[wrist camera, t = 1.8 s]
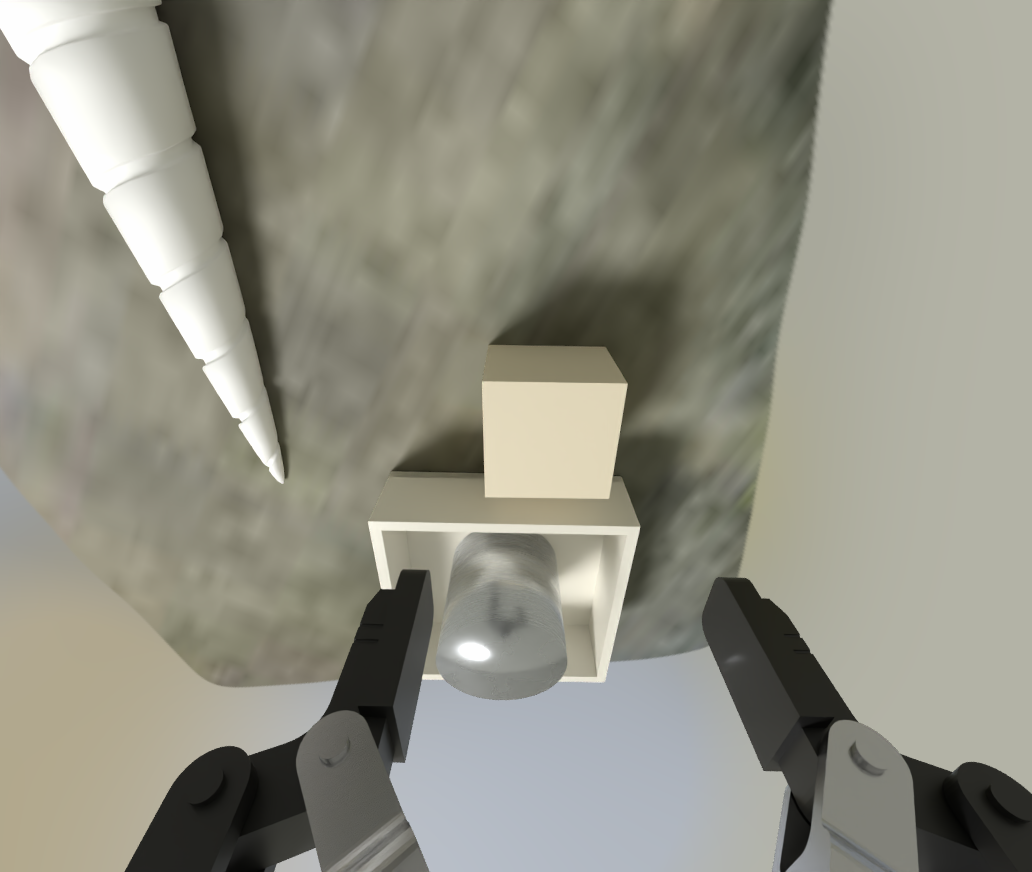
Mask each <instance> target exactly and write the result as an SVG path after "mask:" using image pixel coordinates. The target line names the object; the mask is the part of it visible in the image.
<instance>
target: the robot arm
mask: <svg viewBox="0 0 1032 872" xmlns="http://www.w3.org/2000/svg"><path fill="white" fill-rule="evenodd" d="M433 616H434V604H433V594H432V585H431V575H430V571H429V570H416V569H403V570H402V571H401V572H400V575H399V578H398V581H397V584H396V587H395V589H380V591H379V592H378V593H377V594H376V595H375V596H374V598H373V599H372V600H371V601H370V602H369V603H368V604H367V607H366V609H365V612H364V615H363V617H362V620H361V622H360V627H359V628H358V630H357V633H356V636H355V638H354V643H353V644H352V646H351V649H350V652H349V654H348V657H347V660H346V662H345V665H344V667H343V670H342V673H341V675H340V678H339V681H338V683H337V686H336V689H335V691H334V694H333V697H332V699H331V702H330V704H329V706H328V708H327V710H326V712H325V713H324V715H323V716H322V718H321V719H320V720H319V721H318V722H317V723H316V724H315V725H313V726H312V728H311V729H310V730H309V731H308V732H306V733H305V734H304V735H302V736H300V737H299V738H297V739H295V740H293V741H290V742H288V743H286V744H283V745H279V746H276V747H274V748H270V749H267V750H264V751H261V752H258V753H255V754H252V755H249V756H248V755H247V754H246V752H244V750H242V749H240V748H238V747H234V746H225V747H220V748H217V749H214V750H212V751H209V752H207V753H206V754H204V755H202V756H200V757H199V758H198V759H196V760H195V761H194V762H192V763H191V764H190V765H189V766H188V767H187V768H186V769H185V770H184V771H183V772H182V773H181V774H180V775H179V777H178V778H177V779H176V781H175V782H174V783H173V785H172V786H171V788H170V790H169V791H168V793H167V795H166V797H165V799H164V800H163V802H162V804H161V806H160V808H159V810H158V812H157V813H156V815H155V817H154V819H153V821H152V822H151V824H150V826H149V828H148V830H147V832H146V833H145V835H144V837H143V839H142V841H141V842H140V844H139V846H138V848H137V850H136V852H135V854H134V855H133V857H132V859H131V861H130V863H129V865H128V867H127V868H126V870H125V872H274V870H275V867H276V864H277V863H279V862H282V861H284V860H287V859H289V858H292V857H294V856H296V855H299V854H301V853H303V852H306V851H309V850H311V849H313V848H316V851H317V855H318V859H319V863H320V867H321V871H322V872H429V869H428V867H427V864H426V862H425V859H424V857H423V854H422V852H421V850H420V847H419V845H418V842H417V840H416V837H415V835H414V833H413V831H412V829H411V826H410V825H409V822H408V821H407V820H406V818H405V815H404V813H403V811H402V808H401V806H400V803H399V801H398V798H397V796H396V794H395V791H394V788H393V786H392V783H391V781H390V778H389V775H390V770H391V766H392V762H400V763H401V762H402V763H405V760H406V755H407V749H408V745H409V740H410V735H411V730H412V725H413V720H414V715H415V710H416V705H417V700H418V695H419V691H420V686H421V681H422V676H423V671H424V666H425V661H426V656H427V651H428V646H429V641H430V636H431V631H432V626H433ZM702 626H703V631H704V634H705V637H706V639H707V642H708V644H709V646H710V648H711V651H712V653H713V655H714V658H715V660H716V662H717V665H718V666H719V669H720V672H721V674H722V676H723V678H724V680H725V683H726V685H727V688H728V690H729V692H730V695H731V697H732V699H733V701H734V704H735V706H736V708H737V711H738V713H739V715H740V718H741V720H742V722H743V724H744V727H745V729H746V731H747V734H748V736H749V738H750V741H751V743H752V745H753V747H754V749H755V752H756V754H757V757H758V759H759V761H760V764H761V766H762V768H763V770H764V771H782V772H783V774H784V776H785V778H786V780H787V783H788V785H787V787H786V789H785V793H784V799H783V805H782V812H781V818H780V824H779V831H778V837H777V844H776V850H775V856H774V862H773V869H772V872H1032V794H1031V793H1030V792H1029V791H1028V790H1026V789H1025V788H1024V787H1023V786H1022V785H1020V784H1019V783H1018V782H1016V781H1015V780H1013V779H1012V778H1011V777H1009V776H1007V775H1006V774H1004V773H1002V772H1001V771H999V770H997V769H995V768H993V767H990V766H988V765H985V764H982V763H977V762H966V763H963V764H962V765H960V766H959V767H958V768H957V769H956V770H955V771H954V772H950V771H948V770H944V769H942V768H939V767H936V766H933V765H930V764H927V763H924V762H921V761H918V760H916V759H912V758H910V757H907V756H904V755H902V754H900V753H899V752H898V751H897V749H896V748H895V747H894V746H893V745H892V744H891V743H890V742H889V741H888V740H886V739H885V738H884V737H883V736H882V735H880V734H879V733H878V732H876V731H874V730H873V729H871V728H870V727H868V726H866V725H864V724H861V723H859V722H858V721H857V720H856V719H855V717H854V716H853V715H852V713H851V711H850V710H849V708H848V707H847V706H846V704H845V702H844V701H843V699H842V698H841V696H840V695H839V693H838V692H837V690H836V689H835V687H834V686H833V684H832V683H831V681H830V679H829V678H828V676H827V675H826V673H825V672H824V670H823V669H822V668H821V666H820V664H819V663H818V661H817V660H816V658H815V657H814V655H813V654H811V653H810V649H809V648H808V646H807V645H806V643H805V641H804V640H803V639H802V638H800V634H799V633H798V631H797V629H796V628H795V626H794V625H793V623H792V622H791V620H790V619H789V617H788V616H787V615H786V614H785V613H784V612H783V611H782V610H781V609H780V608H779V607H778V606H776V605H775V604H774V603H773V602H772V601H771V600H770V599H761V597H760V595H759V594H758V592H757V591H756V589H755V587H754V586H753V584H752V583H751V582H750V580H748V579H746V578H726V577H718V578H716V579H715V581H714V584H713V586H712V589H711V592H710V594H709V597H708V600H707V602H706V605H705V608H704V611H703V614H702Z"/></svg>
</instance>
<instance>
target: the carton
mask: <svg viewBox="0 0 1032 872" xmlns="http://www.w3.org/2000/svg"><path fill="white" fill-rule="evenodd" d="M627 385H628V383H627V382H626V380H625V378H624V377H623V375H622V373H621V372H620V370H619V368H618V367H617V365H616V363H615V362H614V360H613V358H612V357H611V355H610V354H609V352H608V350H607V349H606V347H587V346H527V345H489V346H488V351H487V357H486V362H485V368H484V373H483V379H482V399H483V438H484V477H485V497H499V498H579V499H609V496H610V490H611V484H612V477H613V471H614V465H615V459H616V453H617V447H618V441H619V434H620V428H621V422H622V416H623V410H624V404H625V397H626V391H627Z"/></svg>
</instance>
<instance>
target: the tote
mask: <svg viewBox="0 0 1032 872" xmlns="http://www.w3.org/2000/svg"><path fill="white" fill-rule="evenodd" d="M368 524H369V529H370V534H371V539H372V545H373V550H374V555H375V560H376V565H377V570H378V575H379V580H380V585H381V589H395V587H396V584H397V581H398V578H399V575H400V572H401V571H402V570H403V569H416V570H429V571H430V575H431V585H432V594H433V604H434V616H433V626H432V631H431V636H430V641H429V646H428V651H427V656H426V661H425V666H424V671H423V676H422V679H425V680H426V679H427V680H430V679H431V680H444V679H443V677H442V676H441V675H440V673H439V671H438V669H437V666H436V654H437V648H438V642H439V637H440V631H441V625H442V620H443V614H444V608H445V603H446V597H447V591H448V586H449V580H450V574H451V569H452V563H453V557H454V553H455V550H456V548H457V546H458V545H459V543H460V542H461V541H462V540H463V539H464V538H465V537H466V536H467V535H469V534H470V533H472V532H485V533H536V534H540V535H541V536H543V537H544V538H545V539H546V540H547V541H548V542H549V543H550V545H551V546H552V548H553V549H554V552H555V555H556V560H557V569H558V578H559V588H560V597H561V606H562V615H563V624H564V633H565V642H566V651H567V668H566V671H565V673H564V675H563V676H562V678H561V679H560V680H559V681H558V682H605V679H606V674H607V670H608V666H609V662H610V657H611V653H612V649H613V644H614V640H615V635H616V631H617V627H618V622H619V618H620V614H621V609H622V605H623V601H624V596H625V592H626V588H627V583H628V579H629V575H630V570H631V566H632V561H633V557H634V553H635V548H636V544H637V540H638V535H639V531H640V524H639V522H638V519H637V516H636V514H635V511H634V508H633V506H632V503H631V500H630V498H629V495H628V493H627V490H626V487H625V485H624V482H623V479H622V477H621V476H613V477H612V484H611V490H610V496H609V499H579V498H499V497H485V477H484V473H451V472H404V471H391V472H390V475H389V477H388V479H387V481H386V483H385V485H384V488H383V490H382V492H381V494H380V496H379V498H378V501H377V503H376V505H375V507H374V509H373V511H372V514H371V516H370V518H369V520H368Z"/></svg>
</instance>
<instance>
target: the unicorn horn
mask: <svg viewBox="0 0 1032 872" xmlns="http://www.w3.org/2000/svg"><path fill="white" fill-rule="evenodd" d="M161 4H162V1H161V0H0V28H1V30H2V32H3V33H4V35H5V37H6V38H7V40H8V42H9V43H10V45H11V47H12V48H13V50H14V52H15V53H16V55H17V56H18V57H19V58H21V59H22V60H23V61H25V62H26V63H28V64H29V65H31V66H30V67H29V71H30V77H31V81H32V82H33V84H34V86H35V88H36V89H37V91H38V93H39V94H40V96H41V98H42V100H43V101H44V103H45V105H46V106H47V108H48V110H49V112H50V113H51V115H52V117H53V119H54V120H55V122H56V124H57V125H58V127H59V129H60V131H61V132H62V134H63V136H64V137H65V139H66V141H67V143H68V144H69V146H70V148H71V149H72V151H73V153H74V155H75V156H76V158H77V160H78V161H79V163H80V165H81V167H82V168H83V170H84V172H85V173H86V175H87V177H88V179H89V180H90V182H91V184H92V185H93V186H94V187H96V188H98V189H100V190H102V191H104V192H105V193H106V194H105V195H104V197H103V204H104V206H105V208H106V209H107V211H108V213H109V214H110V216H111V218H112V219H113V221H114V223H115V224H116V226H117V228H118V229H119V231H120V233H121V234H122V236H123V238H124V239H125V241H126V243H127V244H128V246H129V248H130V249H131V251H132V253H133V254H134V256H135V258H136V259H137V261H138V263H139V264H140V266H141V268H142V269H143V271H144V273H145V274H146V276H147V278H148V279H149V281H150V283H151V284H153V285H157V286H160V287H161V289H162V291H163V292H162V293H160V296H159V298H160V300H161V301H162V303H163V305H164V306H165V308H166V310H167V311H168V313H169V315H170V316H171V318H172V320H173V321H174V323H175V325H176V326H177V328H178V330H179V331H180V333H181V335H182V336H183V338H184V340H185V341H186V343H187V344H188V346H189V348H190V349H191V351H192V353H193V354H194V356H195V358H197V359H203V360H204V361H205V363H206V366H204V367H203V371H204V372H205V374H206V375H207V377H208V379H209V380H210V382H211V383H212V385H213V387H214V388H215V390H216V391H217V393H218V395H219V396H220V398H221V399H222V401H223V403H224V404H225V406H226V407H227V409H228V411H229V412H230V414H231V415H232V417H233V418H240V420H241V421H242V423H240V424H239V428H240V429H241V431H242V432H243V434H244V435H245V437H246V438H247V440H248V441H249V443H250V445H251V446H252V447H253V449H254V450H255V452H256V453H257V455H258V456H259V458H260V459H261V461H262V462H263V463H264V465H266V466H268V467H270V468H269V471H270V472H271V474H272V475H273V476H274V477H275V478H276V479H277V480H278V481H279V482H280V483H282V484H283V483H284V478H285V476H284V468H283V461H282V455H281V450H280V445H279V443H278V436H277V431H276V427H275V423H274V419H273V415H272V411H271V406H270V402H269V398H268V394H267V391H266V388H265V386H264V384H263V376H262V372H261V368H260V364H259V360H258V356H257V351H256V347H255V343H254V339H253V336H252V332H251V328H250V324H249V321H248V320H247V318H246V317H245V306H244V302H243V298H242V294H241V291H240V287H239V283H238V279H237V276H236V272H235V268H234V265H233V261H232V257H231V254H230V250H229V246H228V243H227V242H226V241H225V240H224V239H223V238H222V237H221V236H222V233H223V224H222V221H221V217H220V213H219V210H218V206H217V202H216V199H215V195H214V192H213V188H212V184H211V181H210V177H209V174H208V170H207V166H206V163H205V159H204V156H203V152H202V148H201V146H200V145H198V144H197V143H196V142H195V141H193V140H192V138H191V137H192V136H193V134H194V133H195V131H196V126H195V122H194V119H193V115H192V112H191V108H190V105H189V101H188V98H187V94H186V90H185V87H184V83H183V79H182V75H181V71H180V68H179V64H178V60H177V56H176V53H175V49H174V45H173V41H172V37H171V34H170V30H169V26H168V25H167V24H166V23H164V22H161V21H159V19H158V16H157V12H156V9H155V6H158V5H161Z"/></svg>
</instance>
